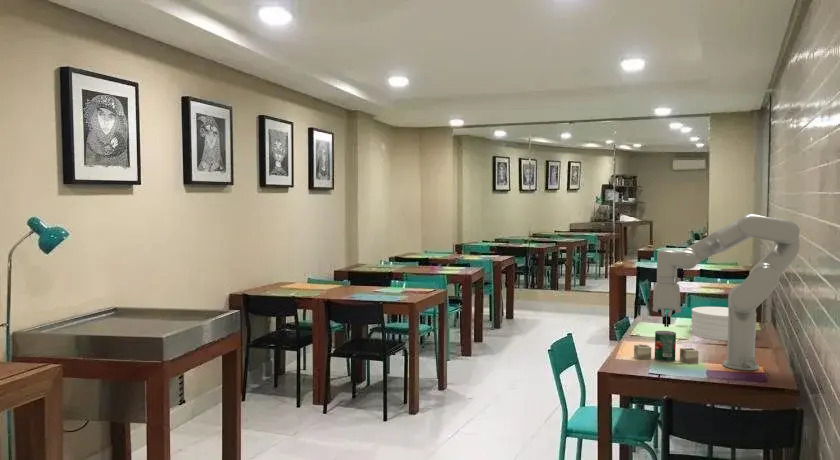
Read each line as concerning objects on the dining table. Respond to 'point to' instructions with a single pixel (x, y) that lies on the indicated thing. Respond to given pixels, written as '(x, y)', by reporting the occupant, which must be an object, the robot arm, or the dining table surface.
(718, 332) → the plate stack
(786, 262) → the robot arm
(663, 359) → the canned tomato
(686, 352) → the marked block one
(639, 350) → the marked block two
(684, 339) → the dining table surface
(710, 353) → the dining table surface
